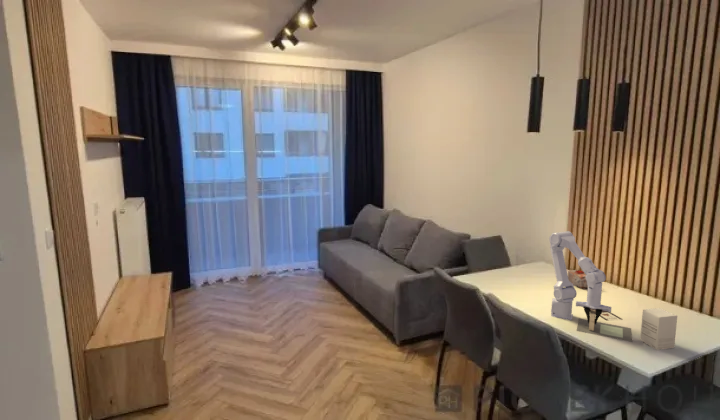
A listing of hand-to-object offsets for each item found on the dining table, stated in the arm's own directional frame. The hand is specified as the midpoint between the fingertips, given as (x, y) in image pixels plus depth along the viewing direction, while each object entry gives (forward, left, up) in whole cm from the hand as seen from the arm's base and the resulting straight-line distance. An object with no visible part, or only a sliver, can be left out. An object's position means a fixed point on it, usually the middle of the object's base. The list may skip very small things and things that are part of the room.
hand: (592, 322), depth 191 cm
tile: (0, 0, -2) cm, 3 cm away
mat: (+5, +2, -3) cm, 6 cm away
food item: (-10, +66, -4) cm, 67 cm away
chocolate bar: (+4, +24, -4) cm, 25 cm away
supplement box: (+25, -2, -4) cm, 25 cm away
